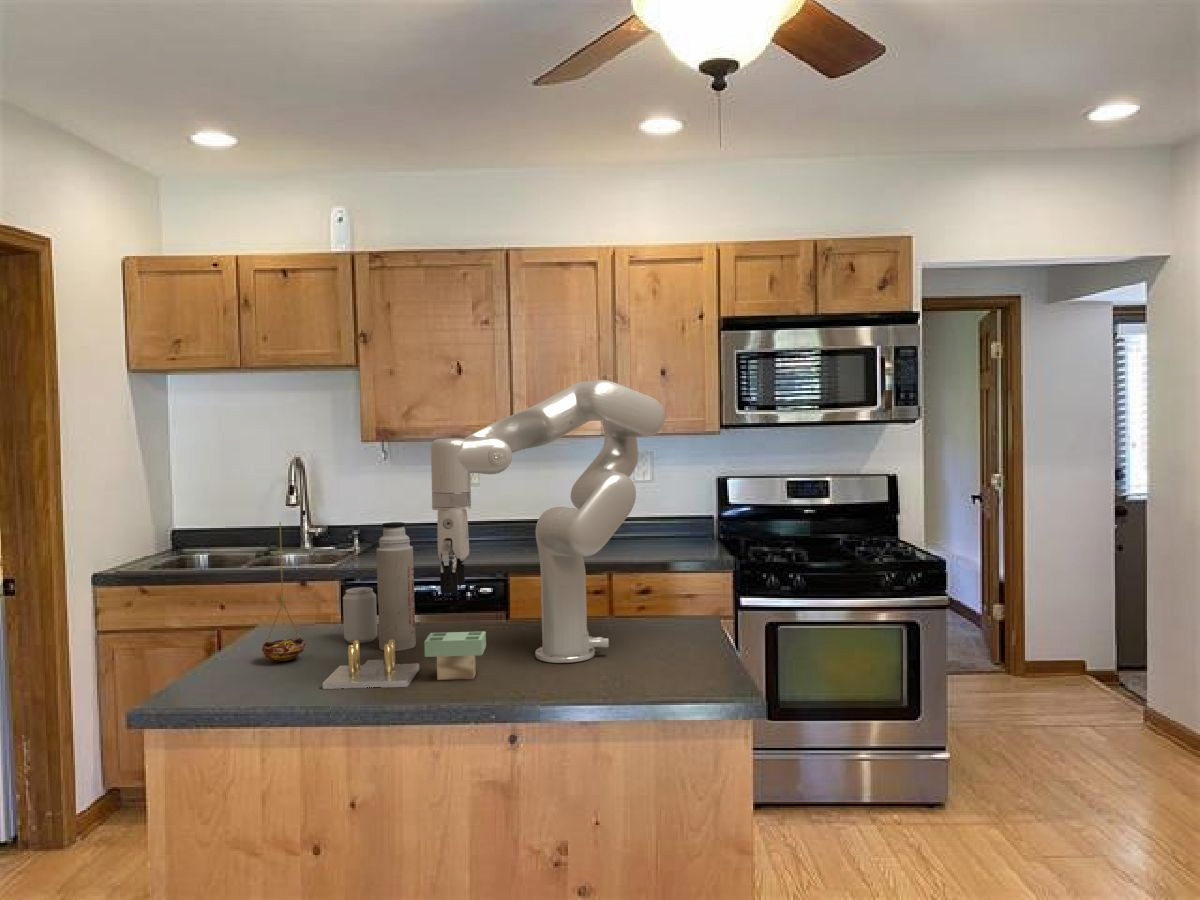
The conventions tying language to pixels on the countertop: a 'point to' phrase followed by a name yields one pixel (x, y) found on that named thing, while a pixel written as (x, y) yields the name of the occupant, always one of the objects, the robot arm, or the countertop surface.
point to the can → (360, 615)
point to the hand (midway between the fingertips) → (453, 588)
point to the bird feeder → (286, 647)
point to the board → (455, 644)
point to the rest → (455, 667)
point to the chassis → (371, 671)
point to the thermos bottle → (396, 588)
